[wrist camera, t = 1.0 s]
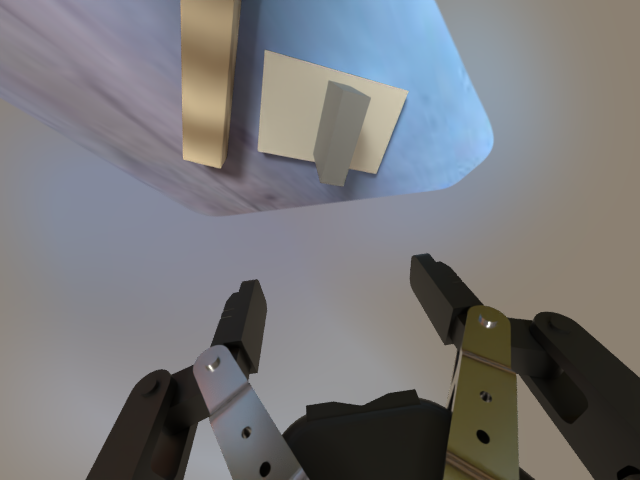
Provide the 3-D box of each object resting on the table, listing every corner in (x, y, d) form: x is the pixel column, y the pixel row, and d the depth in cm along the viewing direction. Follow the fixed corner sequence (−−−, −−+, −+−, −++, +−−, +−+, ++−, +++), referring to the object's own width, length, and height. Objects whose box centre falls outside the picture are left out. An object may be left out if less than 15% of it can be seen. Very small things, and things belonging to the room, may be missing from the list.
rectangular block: (227, 156, 31) (220, 168, 28) (193, 148, 30) (183, 159, 27) (249, -75, 20) (242, -99, 17) (196, -103, 18) (178, -134, 15)
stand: (258, 147, 30) (249, 180, 23) (265, 49, 24) (256, 49, 17) (373, 169, 34) (398, 204, 26) (403, 89, 28) (448, 104, 20)
